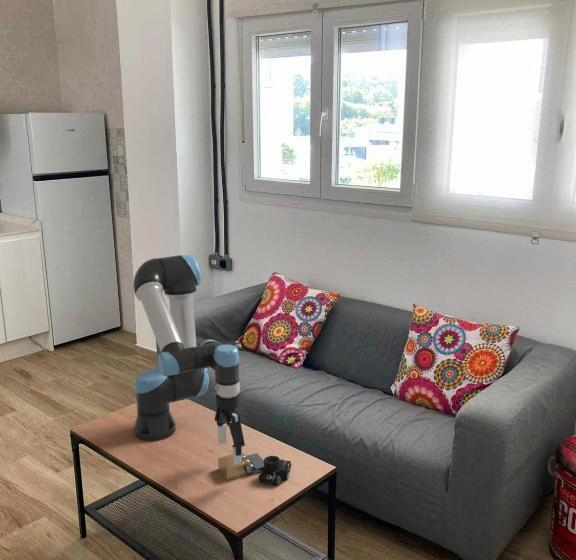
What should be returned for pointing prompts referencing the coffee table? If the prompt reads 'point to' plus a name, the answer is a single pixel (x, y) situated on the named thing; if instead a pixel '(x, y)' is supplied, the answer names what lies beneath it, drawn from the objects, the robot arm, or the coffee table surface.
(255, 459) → the steel hinge leaf
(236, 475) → the gold knuckled block
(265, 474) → the film camera
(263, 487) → the coffee table surface
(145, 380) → the robot arm
